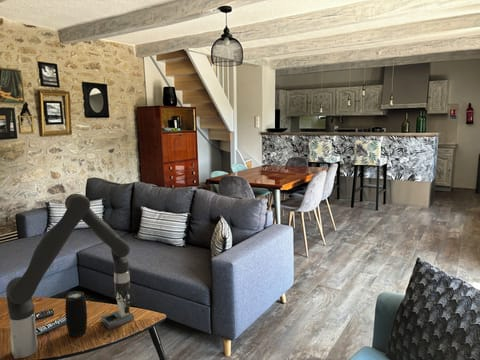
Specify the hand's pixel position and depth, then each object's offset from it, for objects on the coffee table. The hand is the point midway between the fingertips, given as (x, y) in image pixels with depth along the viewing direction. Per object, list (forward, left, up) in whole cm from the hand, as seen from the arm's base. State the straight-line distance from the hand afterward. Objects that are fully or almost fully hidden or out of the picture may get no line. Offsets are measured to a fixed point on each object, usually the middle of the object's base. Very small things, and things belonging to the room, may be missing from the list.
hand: (123, 309), depth 187 cm
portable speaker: (-22, +2, -5) cm, 23 cm away
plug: (0, 0, -5) cm, 5 cm away
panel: (-3, 0, -5) cm, 6 cm away
